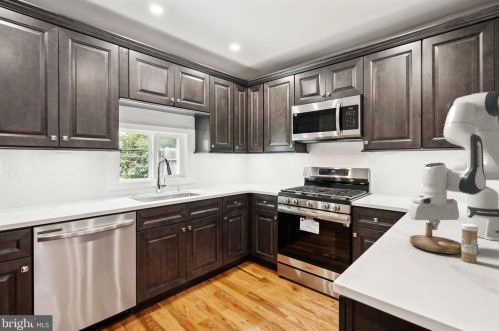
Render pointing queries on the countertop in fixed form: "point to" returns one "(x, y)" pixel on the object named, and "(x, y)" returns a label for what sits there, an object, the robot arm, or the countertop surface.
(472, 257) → the sprinkles bottle
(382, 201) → the countertop surface
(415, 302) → the countertop surface
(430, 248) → the wooden peg stand
